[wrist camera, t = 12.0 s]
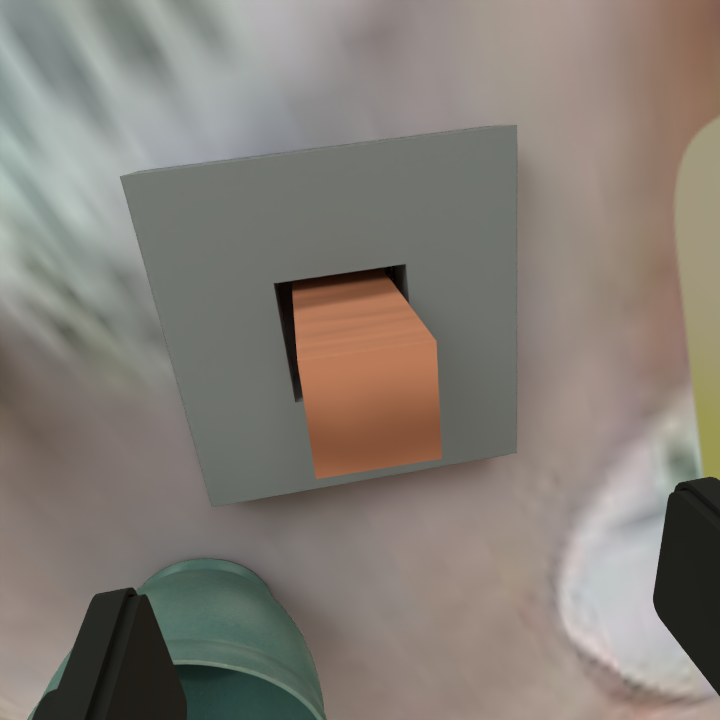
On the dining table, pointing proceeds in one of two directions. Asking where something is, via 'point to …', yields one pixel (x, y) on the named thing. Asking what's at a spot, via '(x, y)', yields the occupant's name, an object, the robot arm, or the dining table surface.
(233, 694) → the green bowl
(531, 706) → the dining table surface
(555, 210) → the dining table surface
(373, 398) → the peg
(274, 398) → the socket block
